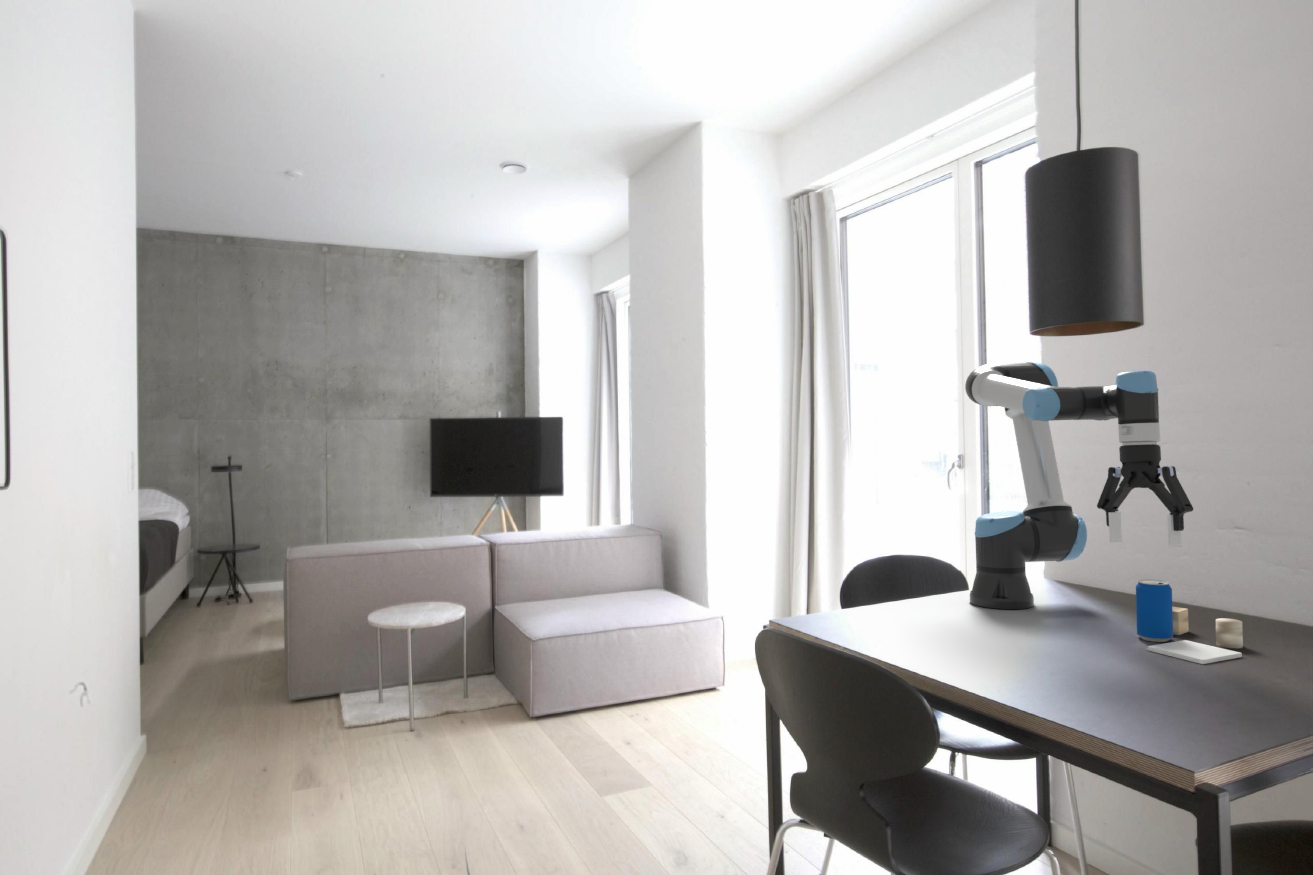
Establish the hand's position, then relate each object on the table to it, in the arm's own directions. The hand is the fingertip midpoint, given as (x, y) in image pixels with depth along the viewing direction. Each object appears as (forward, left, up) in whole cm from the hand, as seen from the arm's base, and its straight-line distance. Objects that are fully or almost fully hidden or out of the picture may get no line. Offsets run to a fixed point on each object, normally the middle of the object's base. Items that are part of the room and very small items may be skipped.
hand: (1144, 544), depth 170 cm
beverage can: (+1, 0, -20) cm, 20 cm away
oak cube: (-2, +9, -20) cm, 22 cm away
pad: (+12, -4, -20) cm, 24 cm away
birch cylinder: (+11, +8, -20) cm, 24 cm away
